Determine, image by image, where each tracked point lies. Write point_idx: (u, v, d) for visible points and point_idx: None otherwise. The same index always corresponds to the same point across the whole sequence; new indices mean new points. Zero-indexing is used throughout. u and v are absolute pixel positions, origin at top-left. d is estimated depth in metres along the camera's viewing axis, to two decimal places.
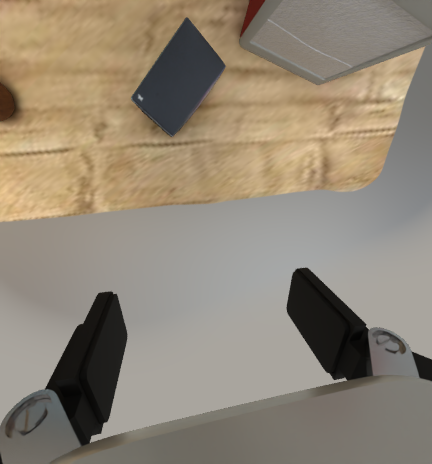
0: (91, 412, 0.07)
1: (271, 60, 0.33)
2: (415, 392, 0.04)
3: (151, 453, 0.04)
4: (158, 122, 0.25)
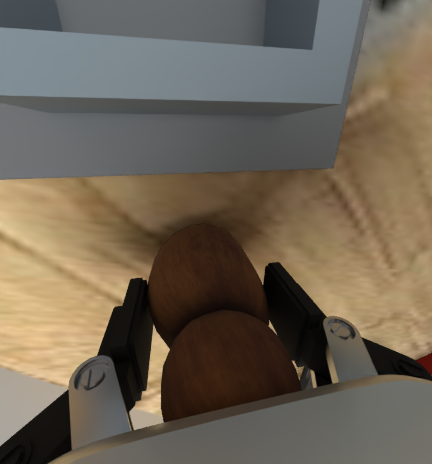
0: (135, 379, 0.08)
1: None
2: (415, 392, 0.04)
3: (151, 453, 0.04)
4: None
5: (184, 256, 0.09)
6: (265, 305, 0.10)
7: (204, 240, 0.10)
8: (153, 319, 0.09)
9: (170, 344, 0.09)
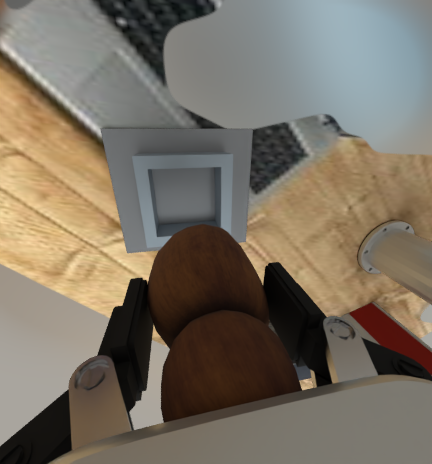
0: (135, 379, 0.08)
1: None
2: (415, 392, 0.04)
3: (151, 453, 0.04)
4: None
5: (184, 257, 0.09)
6: (265, 305, 0.10)
7: (204, 240, 0.10)
8: (153, 319, 0.09)
9: (170, 344, 0.09)
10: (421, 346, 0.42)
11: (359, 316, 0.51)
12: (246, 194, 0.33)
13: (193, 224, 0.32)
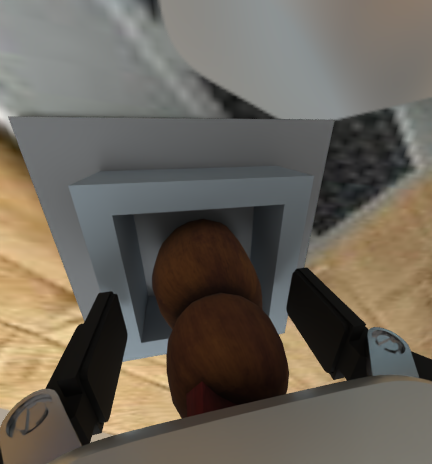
0: (91, 412, 0.07)
1: None
2: (415, 392, 0.04)
3: (151, 453, 0.04)
4: None
5: (187, 247, 0.10)
6: (259, 292, 0.11)
7: (205, 233, 0.11)
8: (158, 302, 0.10)
9: (173, 324, 0.10)
10: None
11: None
12: (306, 239, 0.18)
13: None
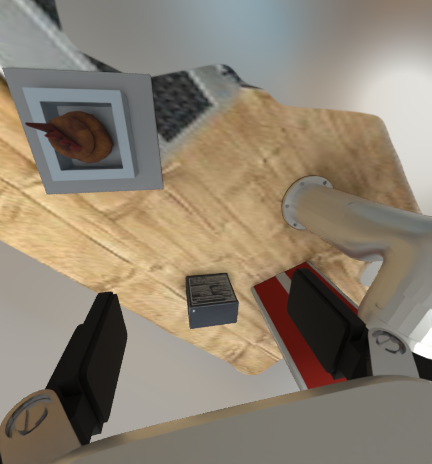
0: (91, 412, 0.07)
1: (257, 303, 0.58)
2: (415, 392, 0.04)
3: (151, 453, 0.04)
4: (190, 321, 0.42)
5: (67, 112, 0.28)
6: (97, 133, 0.28)
7: None
8: None
9: None
10: (336, 292, 0.44)
11: (292, 273, 0.54)
12: (155, 140, 0.36)
13: (105, 166, 0.35)
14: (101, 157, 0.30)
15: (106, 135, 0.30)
